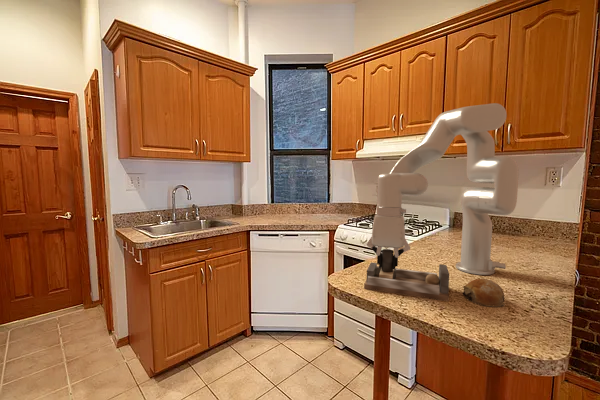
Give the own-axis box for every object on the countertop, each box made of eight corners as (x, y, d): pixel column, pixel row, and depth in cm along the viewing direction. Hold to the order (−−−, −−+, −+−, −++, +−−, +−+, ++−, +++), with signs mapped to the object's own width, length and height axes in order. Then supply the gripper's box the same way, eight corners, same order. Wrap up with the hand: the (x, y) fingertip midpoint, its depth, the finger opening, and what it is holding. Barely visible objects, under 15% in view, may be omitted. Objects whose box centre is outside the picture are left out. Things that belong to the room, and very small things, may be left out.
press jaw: (396, 275, 97) (397, 248, 96) (394, 285, 88) (395, 255, 87) (382, 274, 98) (382, 246, 97) (379, 283, 90) (379, 253, 89)
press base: (444, 285, 92) (445, 263, 92) (448, 301, 81) (449, 276, 81) (369, 275, 102) (370, 255, 101) (364, 288, 90) (364, 265, 90)
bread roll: (496, 322, 77) (514, 300, 74) (458, 299, 81) (474, 276, 79) (494, 308, 85) (510, 287, 83) (460, 287, 90) (474, 267, 87)
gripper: (416, 211, 92) (414, 267, 93) (364, 209, 98) (363, 261, 100) (416, 214, 85) (414, 274, 86) (360, 212, 91) (359, 267, 93)
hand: (387, 266), depth 93 cm, fingers closed on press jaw, 3 cm apart
